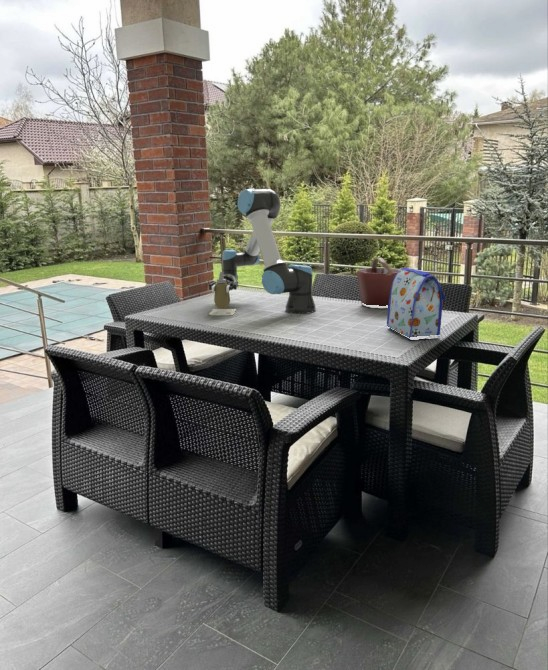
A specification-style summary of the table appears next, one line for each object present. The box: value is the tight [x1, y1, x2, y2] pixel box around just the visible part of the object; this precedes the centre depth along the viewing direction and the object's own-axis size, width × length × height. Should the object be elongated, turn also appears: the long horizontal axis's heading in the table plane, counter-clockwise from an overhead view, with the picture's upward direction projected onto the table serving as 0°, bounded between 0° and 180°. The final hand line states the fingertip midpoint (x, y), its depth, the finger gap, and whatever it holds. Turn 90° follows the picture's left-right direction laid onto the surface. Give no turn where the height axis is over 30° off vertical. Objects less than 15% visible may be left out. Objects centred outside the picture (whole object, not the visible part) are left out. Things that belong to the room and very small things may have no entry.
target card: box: [208, 308, 237, 316], centre depth 268 cm, size 12×12×1 cm
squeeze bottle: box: [213, 271, 231, 309], centre depth 265 cm, size 8×8×18 cm
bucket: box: [356, 257, 401, 306], centre depth 276 cm, size 24×22×25 cm
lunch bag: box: [386, 267, 447, 338], centre depth 220 cm, size 23×17×27 cm
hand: (220, 289), depth 260 cm, fingers closed on squeeze bottle, 6 cm apart
